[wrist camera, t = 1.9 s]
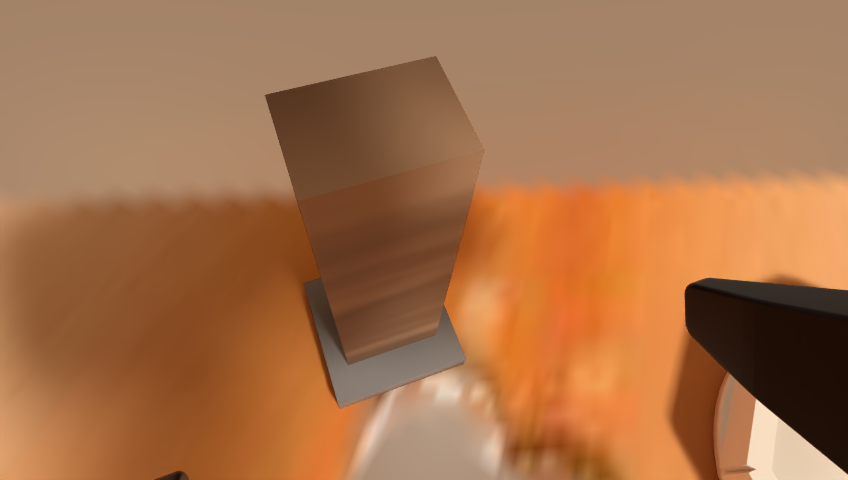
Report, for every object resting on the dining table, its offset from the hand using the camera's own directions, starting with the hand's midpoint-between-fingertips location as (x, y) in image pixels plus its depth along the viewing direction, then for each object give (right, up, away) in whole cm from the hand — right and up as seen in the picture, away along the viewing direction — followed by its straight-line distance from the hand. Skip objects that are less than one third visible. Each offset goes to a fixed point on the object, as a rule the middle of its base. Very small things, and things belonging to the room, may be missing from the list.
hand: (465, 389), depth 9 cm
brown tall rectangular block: (-2, -1, +12) cm, 12 cm away
